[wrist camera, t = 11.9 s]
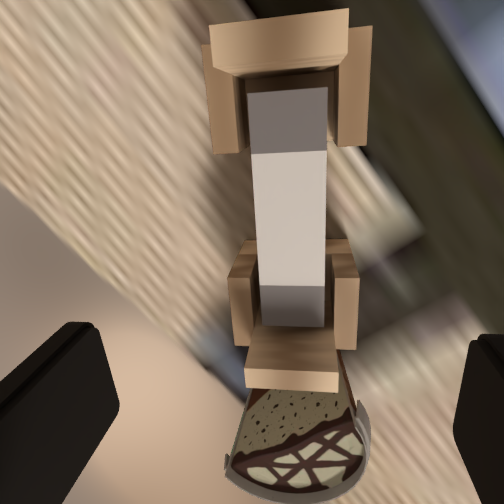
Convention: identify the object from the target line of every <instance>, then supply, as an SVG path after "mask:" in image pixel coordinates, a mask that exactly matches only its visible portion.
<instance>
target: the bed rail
mask: <svg viewBox="0 0 504 504" xmlns="http://www.w3.org/2000/svg"><path fill="white" fill-rule="evenodd" d="M247 98H248V114H249V129H250V144H251V160H252V175H253V190H254V205H255V221H256V236H257V251H258V267H259V282H260V297H261V313H262V325H264V326H296V327H324V295H325V230H326V165H327V101H328V87H322V88H310V89H297V90H285V91H272V92H259V93H247Z"/></svg>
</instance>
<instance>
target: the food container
mask: <svg viewBox="0 0 504 504" xmlns="http://www.w3.org/2000/svg"><path fill="white" fill-rule="evenodd" d="M336 353H337V362H338V371H339V379H338V393H334V392H316V391H297V390H279V389H261V388H250V392H249V395H248V398H247V402H246V405H245V408H244V412H243V415H242V418H241V422H240V425H239V428H238V432H237V436H236V438H235V442H234V445H233V449H232V452H231V455H230V456H229V455H228V454H226V455H225V465H224V470H225V471H226V473H225V477H226V478H227V479H228V480H229V481H230V482H231V483H233V484H234V485H235V486H237V487H238V488H240V489H241V490H243V491H245V492H247V493H249V494H251V495H253V496H256V497H258V498H260V499H264V500H267V501H270V502H274V503H280V504H320V503H324V502H328V501H331V500H333V499H336V498H339V497H340V496H342V495H344V494H346V493H347V492H349V491H350V490H351V489H352V488H354V487H355V486H356V485H357V483H358V482H359V481H360V480H361V478H362V476H363V474H364V473H365V469H366V466H367V464H368V460H369V456H370V442H371V426H370V421H369V417H368V415H367V413H366V410H365V408H364V407H363V405H362V404H361V402H360V400H357V408H356V405H355V401H354V398H353V394H352V391H351V387H350V384H349V380H348V377H347V374H346V370H345V367H344V363H343V360H342V356H341V353H340V350H339V349H336Z"/></svg>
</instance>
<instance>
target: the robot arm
mask: <svg viewBox="0 0 504 504" xmlns="http://www.w3.org/2000/svg"><path fill="white" fill-rule="evenodd" d="M119 404H120V403H119V399H118V395H117V392H116V388H115V385H114V381H113V378H112V374H111V371H110V367H109V364H108V360H107V357H106V353H105V350H104V346H103V343H102V339H101V336H100V332H99V330H98V329H97V328H95V327H94V325H93V324H92V323H89V322H68V323H66V324H65V325H64V326H62V327H61V328H60V329H59V330H58V331H57V332H55V333H54V334H53V335H52V336H51V337H50V338H49V339H48V340H46V341H45V342H44V343H43V344H42V345H41V346H40V347H39V348H37V349H36V350H35V351H34V352H33V353H32V354H31V355H30V356H29V357H27V358H26V359H25V360H24V361H23V362H22V363H21V364H19V365H18V366H17V367H16V368H15V369H14V370H13V371H12V372H11V373H9V374H8V375H7V376H6V377H5V378H4V379H3V380H2V381H0V504H62V502H63V501H64V500H65V498H66V496H67V495H68V493H69V492H70V490H71V488H72V487H73V485H74V483H75V482H76V480H77V479H78V477H79V475H80V474H81V472H82V470H83V469H84V467H85V466H86V464H87V463H88V461H89V459H90V458H91V456H92V454H93V453H94V451H95V450H96V448H97V447H98V445H99V443H100V442H101V440H102V439H103V437H104V435H105V434H106V432H107V431H108V429H109V427H110V426H111V424H112V423H113V421H114V419H115V418H116V416H117V414H118V411H119ZM453 435H454V440H455V443H456V445H457V447H458V450H459V452H460V454H461V457H462V459H463V461H464V464H465V466H466V468H467V471H468V473H469V475H470V478H471V480H472V482H473V485H474V487H475V489H476V492H477V494H478V496H479V499H480V501H481V503H482V504H504V334H481V335H480V336H479V337H478V339H477V340H472V341H471V342H470V344H469V348H468V353H467V358H466V363H465V368H464V373H463V378H462V383H461V388H460V393H459V398H458V403H457V408H456V413H455V418H454V423H453Z"/></svg>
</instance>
